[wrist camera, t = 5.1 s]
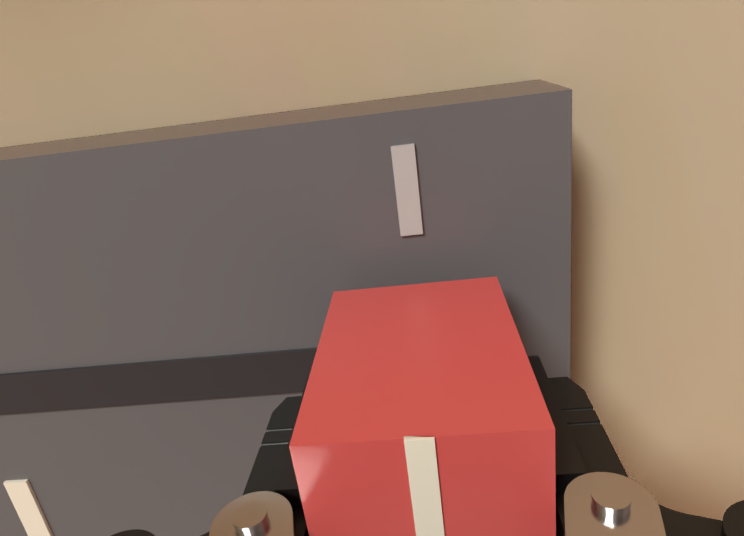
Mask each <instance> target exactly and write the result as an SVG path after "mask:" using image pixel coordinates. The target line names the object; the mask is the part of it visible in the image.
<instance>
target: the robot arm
mask: <svg viewBox="0 0 744 536" xmlns="http://www.w3.org/2000/svg"><path fill="white" fill-rule="evenodd" d="M527 357H528V359H529V362H530V364H531V367H532V370H533V372H534V375H535V377H536V380H537V383H538V385H539V388H540V390H541V393H542V396H543V398H544V401H545V403H546V406H547V409H548V411H549V414H550V417H551V419H552V422H553V424H554V427H555V470H556V536H744V500H743V501H740V502H737V503H735V504H733V505H731V506H730V507H729V508H728V509H727V510H726V512H725V513H724V516H723V521H720V520H715V519H710V518H705V517H700V516H694V515H689V514H685V513H680V512H677V511H674V510H671V509H668V508H665V507H663V506H661V505H659V504H658V502H657V501H656V499H655V497H654V496H653V495H652V494H651V493H650V491H648V490H647V489H646V488H645V487H644V486H642V485H641V484H639V483H638V482H636V481H634V480H632V479H630V478H629V477H628V476H627V474H626V472H625V470H624V468H623V466H622V464H621V462H620V460H619V458H618V456H617V454H616V452H615V450H614V448H613V446H612V444H611V442H610V440H609V438H608V436H607V434H606V432H605V430H604V428H603V426H602V425H600V420H599V418H598V416H597V414H596V412H595V410H593V406H592V404H591V402H590V401H589V399H588V397H587V395H586V393H585V391H584V390H583V389H582V388H581V387H579V386H578V385H577V384H576V383H574V382H573V381H572V380H571V379H569V378H568V377H554V378H548V377H547V374H546V372H545V370H544V367H543V365H542V362H541V360H540V358H539V356H538V355H533V356H527ZM309 375H310V373H309V374H308V376H307V380H306V383H305V387H304V390H303V394H302V396H294V397H286V398H285V399H284V400H283V402H282V403H281V404H280V405H279V406H278V407H277V408H276V409H275V410H274V411H273V412H272V415H271V417H270V420H269V423H268V426H267V428H266V432H265V434H264V437H263V440H262V442H261V447H260V448H259V451H258V454H257V456H256V459H255V462H254V465H253V467H252V470H251V473H250V476H249V479H248V481H247V484H246V487H245V490H244V493H243V495H242V496H241V497H239V498H237V499H235V500H233V501H232V502H230V503H229V504H227V505H226V506H225V507H224V508H223V509H222V510H221V511H220V512H219V513H218V514H217V516H216V517H215V519H214V520H213V522H212V525H211V528H210V531H209V532H207V533H205V534H203V535H201V536H309V533H308V529H307V524H306V520H305V515H304V511H303V506H302V502H301V497H300V493H299V489H298V484H297V480H296V475H295V471H294V466H293V462H292V457H291V453H290V448H289V445H290V441H291V438H292V434H293V431H294V427H295V424H296V420H297V417H298V413H299V410H300V406H301V403H302V400H303V396H304V393H305V389H306V386H307V382H308V379H309ZM111 536H155V535H154V534H152V533H151V532H149V531H146V530H141V529H133V530H126V531H122V532H119V533H116V534H113V535H111Z"/></svg>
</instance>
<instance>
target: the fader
mask: <svg viewBox="0 0 744 536" xmlns="http://www.w3.org/2000/svg"><path fill="white" fill-rule="evenodd" d="M289 448H290V453H291V457H292V462H293V466H294V471H295V475H296V480H297V484H298V489H299V493H300V497H301V502H302V506H303V511H304V515H305V520H306V524H307V529H308V533H309V536H556V470H555V427H554V424H553V422H552V419H551V417H550V414H549V411H548V409H547V406H546V403H545V401H544V398H543V396H542V393H541V390H540V388H539V385H538V383H537V380H536V377H535V375H534V372H533V370H532V367H531V364H530V362H529V359H528V357H527V354H526V351H525V349H524V346H523V344H522V341H521V338H520V336H519V333H518V330H517V328H516V325H515V323H514V320H513V317H512V315H511V312H510V310H509V307H508V304H507V302H506V299H505V297H504V294H503V291H502V289H501V286H500V284H499V281H498V278H497V276H496V277H485V278H475V279H464V280H453V281H442V282H432V283H421V284H410V285H400V286H389V287H378V288H367V289H357V290H346V291H335V292H333V295H332V299H331V302H330V306H329V309H328V313H327V316H326V320H325V323H324V327H323V330H322V333H321V337H320V340H319V344H318V347H317V351H316V354H315V358H314V361H313V365H312V368H311V372H310V375H309V379H308V382H307V386H306V389H305V393H304V396H303V400H302V403H301V406H300V410H299V413H298V417H297V420H296V424H295V427H294V431H293V434H292V438H291V441H290V445H289Z"/></svg>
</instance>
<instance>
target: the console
mask: <svg viewBox="0 0 744 536" xmlns="http://www.w3.org/2000/svg"><path fill="white" fill-rule="evenodd" d="M571 175H572V89H569V88H566V87H562V86H559V85H556V84H552V83H549V82H546V81H542V80H532V81H524V82H516V83H508V84H500V85H492V86H484V87H476V88H468V89H461V90H453V91H445V92H437V93H429V94H421V95H413V96H405V97H397V98H390V99H382V100H374V101H366V102H358V103H350V104H342V105H334V106H326V107H319V108H311V109H303V110H295V111H287V112H279V113H271V114H263V115H255V116H247V117H240V118H232V119H224V120H216V121H208V122H200V123H192V124H184V125H176V126H169V127H161V128H153V129H145V130H137V131H129V132H121V133H113V134H105V135H98V136H90V137H82V138H74V139H66V140H58V141H50V142H42V143H34V144H26V145H19V146H11V147H3V148H0V536H111V535H113V534H116V533H119V532H122V531H126V530H133V529H141V530H146V531H149V532H151V533H152V534H154V535H155V536H201V535H203V534H205V533H207V532H209V531H210V528H211V525H212V522H213V520H214V519H215V517H216V516H217V514H218V513H219V512H220V511H221V510H222V509H223V508H224V507H225V506H226V505H227V504H229V503H230V502H232V501H233V500H235V499H237V498H239V497H241V496H242V495H243V493H244V490H245V487H246V484H247V481H248V479H249V476H250V473H251V470H252V467H253V465H254V462H255V459H256V456H257V454H258V451H259V448H260V447H261V442H262V440H263V437H264V434H265V432H266V428H267V426H268V423H269V420H270V417H271V415H272V412H273V411H274V410H275V409H276V408H277V407H278V406H279V405H280V404H281V403H282V402H283V400H284V399H285V398H286V397H294V396H302V394H303V390H304V387H305V383H306V380H307V376H308V374H309V373H310V372H311V368H312V365H313V361H314V358H315V354H316V351H317V347H318V344H319V340H320V337H321V333H322V330H323V327H324V323H325V320H326V316H327V313H328V309H329V306H330V302H331V299H332V295H333V292H335V291H346V290H357V289H367V288H378V287H389V286H400V285H410V284H421V283H432V282H442V281H453V280H464V279H475V278H485V277H496V276H497V278H498V281H499V284H500V286H501V289H502V291H503V294H504V297H505V299H506V302H507V304H508V307H509V310H510V312H511V315H512V317H513V320H514V323H515V325H516V328H517V330H518V333H519V336H520V338H521V341H522V344H523V346H524V349H525V351H526V354H527V356H533V355H538V356H539V358H540V360H541V362H542V365H543V367H544V370H545V372H546V374H547V377H548V378H554V377H568V378H569V379H570V363H571Z"/></svg>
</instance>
